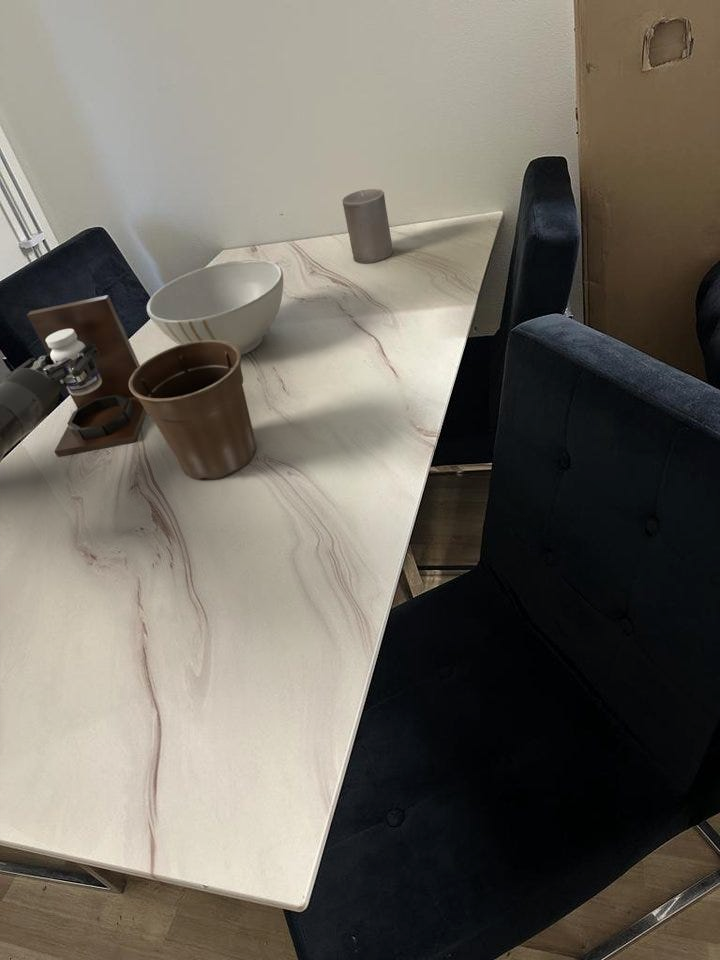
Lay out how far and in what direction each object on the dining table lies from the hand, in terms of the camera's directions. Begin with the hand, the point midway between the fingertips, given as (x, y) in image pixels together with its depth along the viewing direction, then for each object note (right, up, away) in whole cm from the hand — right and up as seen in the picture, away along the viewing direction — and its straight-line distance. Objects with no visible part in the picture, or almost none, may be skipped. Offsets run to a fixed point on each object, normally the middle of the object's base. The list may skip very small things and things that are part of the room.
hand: (78, 349), depth 111 cm
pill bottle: (+1, -6, +2) cm, 7 cm away
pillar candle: (+50, +31, +47) cm, 76 cm away
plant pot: (+25, -18, -7) cm, 32 cm away
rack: (+2, -12, +7) cm, 14 cm away
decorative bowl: (+22, +6, +24) cm, 32 cm away
